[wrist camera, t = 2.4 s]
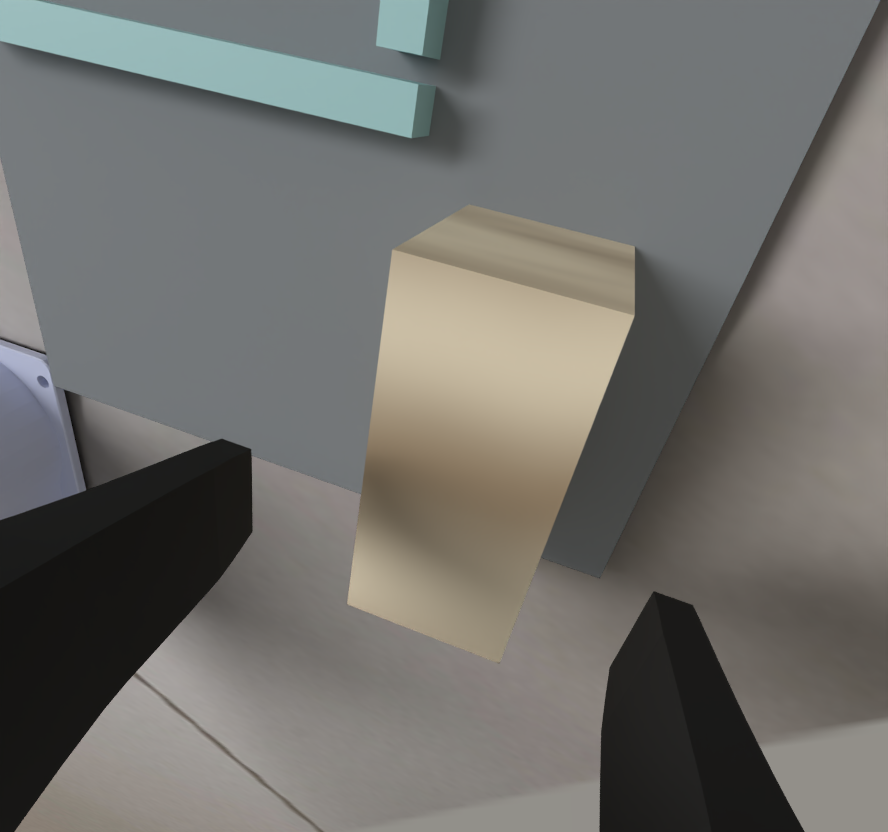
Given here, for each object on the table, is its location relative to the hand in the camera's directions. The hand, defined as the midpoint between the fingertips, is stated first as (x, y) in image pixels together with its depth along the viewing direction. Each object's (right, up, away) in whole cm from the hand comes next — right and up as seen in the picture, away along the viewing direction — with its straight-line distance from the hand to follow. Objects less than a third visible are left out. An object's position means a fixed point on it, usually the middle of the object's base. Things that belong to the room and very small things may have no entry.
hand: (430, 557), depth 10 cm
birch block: (+2, +3, +6) cm, 7 cm away
